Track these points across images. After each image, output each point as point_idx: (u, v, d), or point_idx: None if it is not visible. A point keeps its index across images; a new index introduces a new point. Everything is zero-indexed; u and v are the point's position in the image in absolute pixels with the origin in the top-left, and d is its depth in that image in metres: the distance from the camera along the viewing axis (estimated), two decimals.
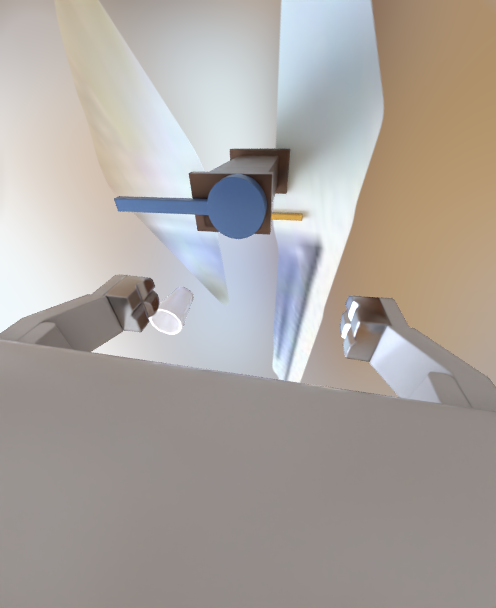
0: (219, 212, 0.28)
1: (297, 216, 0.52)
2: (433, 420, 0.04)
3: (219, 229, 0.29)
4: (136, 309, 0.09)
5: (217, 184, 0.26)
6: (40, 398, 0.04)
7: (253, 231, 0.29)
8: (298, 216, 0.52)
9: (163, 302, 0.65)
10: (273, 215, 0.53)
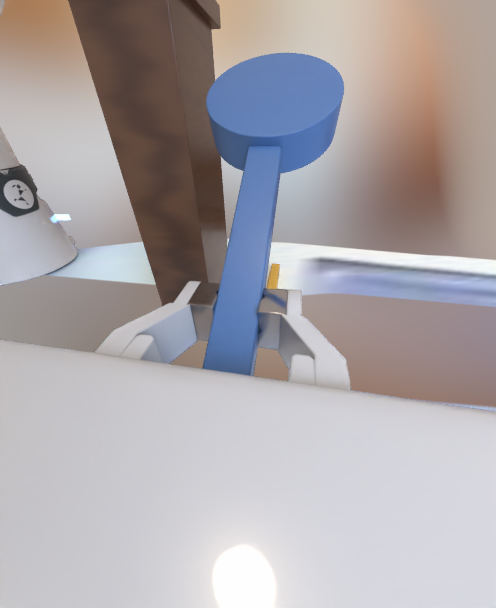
0: (275, 115, 0.11)
1: (273, 267, 0.36)
2: (433, 420, 0.04)
3: (319, 116, 0.11)
4: None
5: (214, 116, 0.12)
6: (40, 398, 0.04)
7: (323, 63, 0.12)
8: (273, 266, 0.36)
9: None
10: (269, 286, 0.32)
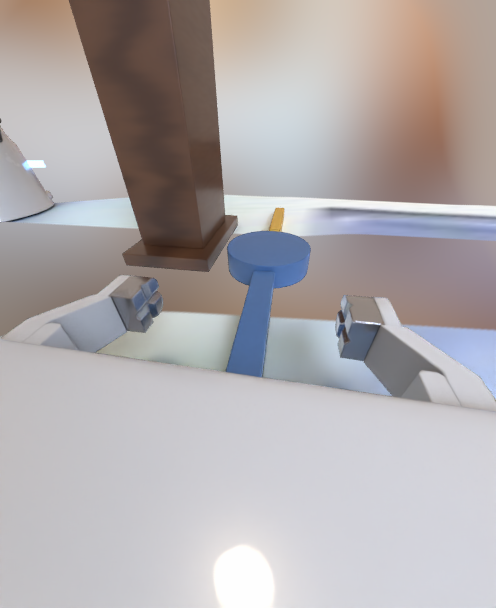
0: (270, 256, 0.18)
1: (277, 210, 0.30)
2: (433, 420, 0.04)
3: (297, 259, 0.18)
4: (140, 309, 0.09)
5: (232, 254, 0.19)
6: (40, 398, 0.04)
7: (297, 237, 0.21)
8: (277, 209, 0.31)
9: None
10: (273, 224, 0.26)
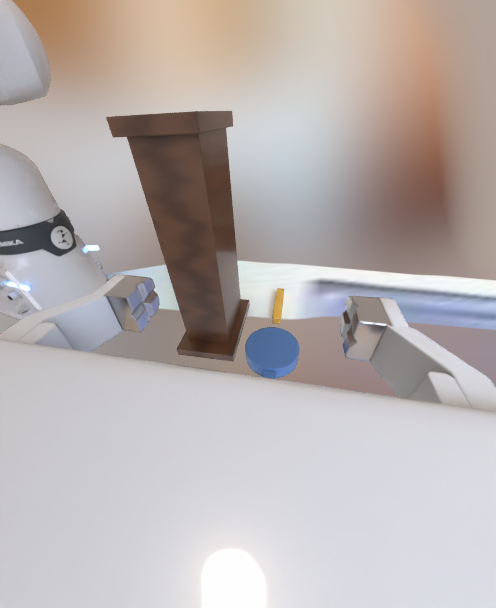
0: (273, 358, 0.29)
1: (278, 291, 0.41)
2: (433, 420, 0.04)
3: (290, 361, 0.28)
4: (136, 309, 0.09)
5: (249, 355, 0.29)
6: (40, 398, 0.04)
7: (291, 335, 0.32)
8: (278, 291, 0.41)
9: None
10: (275, 312, 0.37)
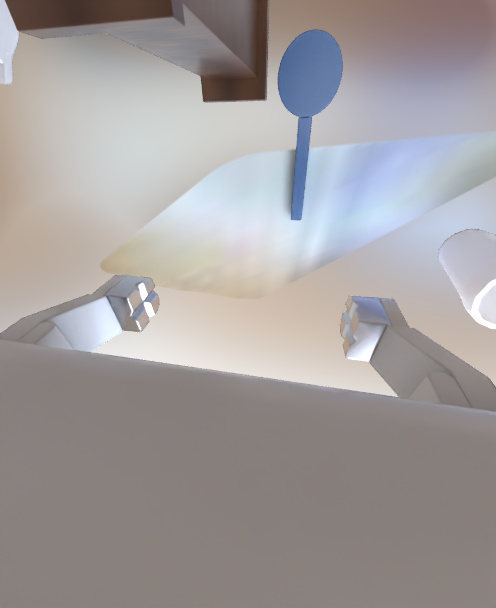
0: (310, 100, 0.27)
1: None
2: (433, 420, 0.04)
3: (327, 101, 0.27)
4: (136, 309, 0.09)
5: (283, 101, 0.28)
6: (40, 398, 0.04)
7: (335, 46, 0.24)
8: None
9: (460, 287, 0.30)
10: None
